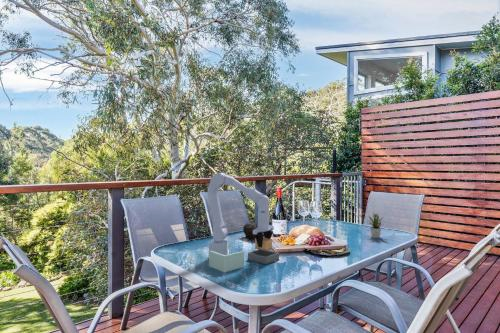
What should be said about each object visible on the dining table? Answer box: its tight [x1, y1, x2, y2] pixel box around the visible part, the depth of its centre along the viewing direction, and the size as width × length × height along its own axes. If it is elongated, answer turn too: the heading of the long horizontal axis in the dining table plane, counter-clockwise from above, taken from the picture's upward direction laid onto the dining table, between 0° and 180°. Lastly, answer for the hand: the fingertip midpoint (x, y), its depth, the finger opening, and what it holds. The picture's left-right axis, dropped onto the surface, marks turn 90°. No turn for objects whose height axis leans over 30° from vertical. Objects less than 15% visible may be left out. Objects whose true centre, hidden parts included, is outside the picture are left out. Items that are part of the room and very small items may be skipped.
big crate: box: [247, 249, 280, 265], centre depth 180 cm, size 10×12×4 cm
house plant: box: [365, 212, 385, 239], centre depth 231 cm, size 14×14×16 cm
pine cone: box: [242, 221, 263, 242], centre depth 226 cm, size 10×18×10 cm, turn 33°
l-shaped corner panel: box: [208, 250, 245, 273], centre depth 169 cm, size 12×12×8 cm
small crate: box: [254, 237, 273, 251], centre depth 180 cm, size 5×7×5 cm
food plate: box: [307, 245, 351, 256], centre depth 196 cm, size 25×23×4 cm
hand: (263, 246), depth 180 cm, fingers closed on small crate, 5 cm apart
